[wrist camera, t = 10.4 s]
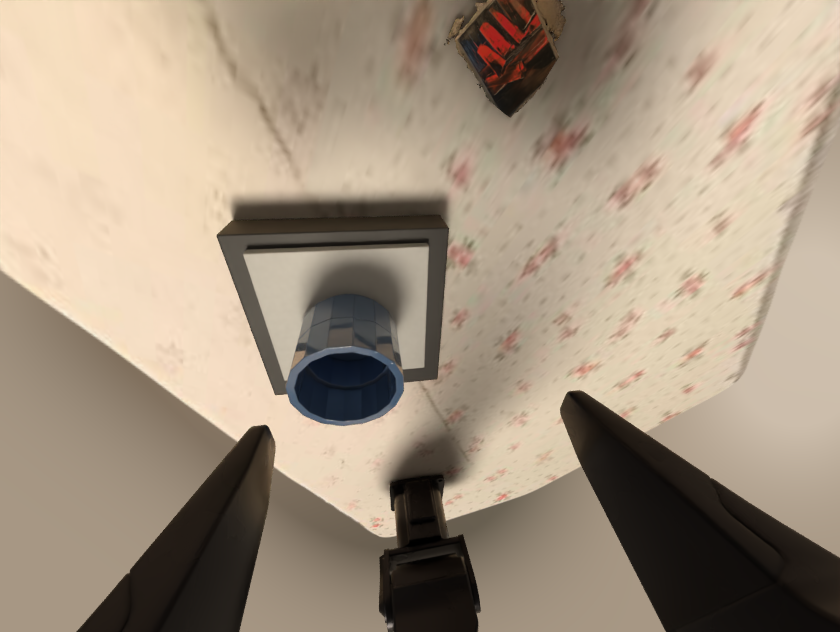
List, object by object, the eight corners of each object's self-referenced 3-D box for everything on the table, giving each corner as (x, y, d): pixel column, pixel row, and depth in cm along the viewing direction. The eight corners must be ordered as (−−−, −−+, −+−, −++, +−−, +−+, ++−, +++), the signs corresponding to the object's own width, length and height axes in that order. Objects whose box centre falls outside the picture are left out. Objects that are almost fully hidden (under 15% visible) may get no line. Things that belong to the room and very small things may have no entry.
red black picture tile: (514, 124, 17) (517, 124, 16) (436, 55, 15) (438, 54, 14) (578, 27, 15) (584, 25, 14) (500, -69, 13) (505, -74, 12)
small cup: (396, 358, 21) (404, 419, 17) (311, 365, 20) (299, 431, 16) (393, 287, 18) (403, 341, 14) (293, 292, 17) (273, 352, 13)
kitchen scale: (432, 358, 26) (439, 385, 24) (281, 372, 24) (272, 402, 22) (440, 214, 19) (451, 231, 17) (231, 219, 17) (210, 239, 15)
